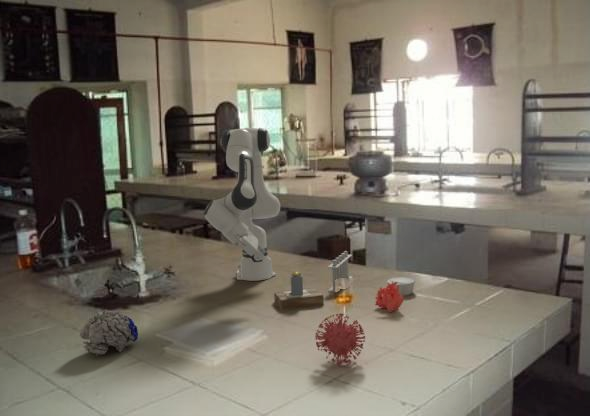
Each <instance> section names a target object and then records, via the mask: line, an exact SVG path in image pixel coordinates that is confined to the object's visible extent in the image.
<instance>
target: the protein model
mask: <svg viewBox="0 0 590 416" xmlns="http://www.w3.org/2000/svg"><path fill="white" fill-rule="evenodd" d="M397 283H398V282H395V283H393V282H392V284H387V285H386V286H385V287H381V286H380V287H379V290H378V291H377V293H376V296H375V297H374V298H375V306H378V307H379V308H381V309H387V312H388V313H390V314H391V313H392V312H393V311H399V309H400V307H401V306H402V304H403V302H404V296H402V295H400V294H399V293H398V291H399V285H397V288H395V286H394V285H396V284H397ZM389 288H390V289H389Z"/></svg>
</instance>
